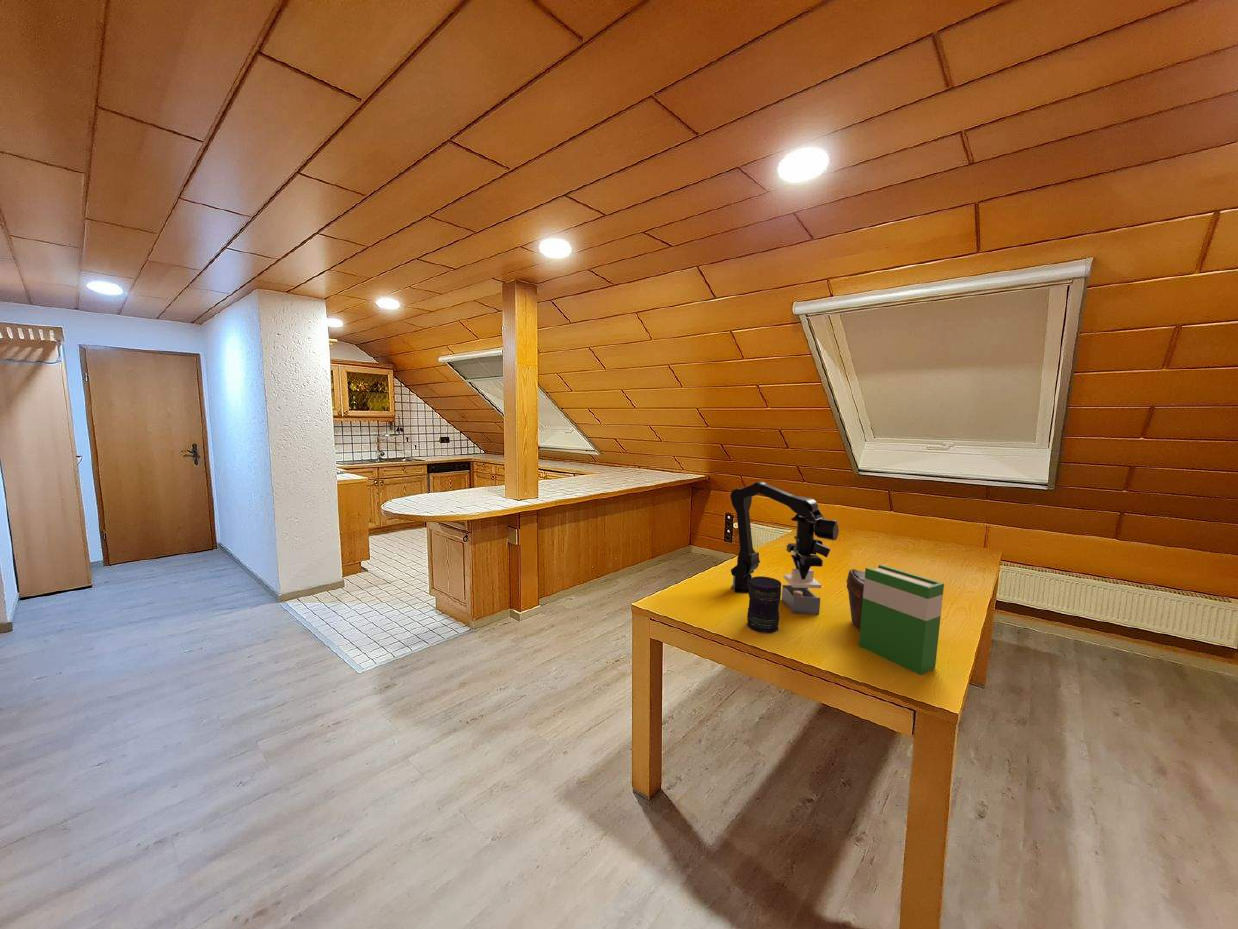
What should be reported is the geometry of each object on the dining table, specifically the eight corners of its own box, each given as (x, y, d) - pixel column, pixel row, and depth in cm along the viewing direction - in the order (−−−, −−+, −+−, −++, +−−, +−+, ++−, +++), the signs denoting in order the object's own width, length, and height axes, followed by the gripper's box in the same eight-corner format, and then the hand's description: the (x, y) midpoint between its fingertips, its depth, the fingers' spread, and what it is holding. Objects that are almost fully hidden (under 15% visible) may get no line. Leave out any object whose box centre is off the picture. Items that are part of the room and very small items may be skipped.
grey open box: (792, 613, 166) (794, 597, 165) (781, 599, 178) (782, 584, 177) (819, 614, 166) (820, 598, 165) (806, 600, 178) (807, 585, 177)
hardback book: (858, 646, 144) (865, 568, 141) (873, 641, 147) (880, 564, 145) (920, 675, 129) (929, 588, 126) (935, 668, 132) (944, 583, 130)
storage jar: (774, 636, 148) (777, 589, 147) (742, 628, 154) (745, 582, 152) (782, 625, 157) (785, 580, 155) (752, 617, 162) (754, 574, 160)
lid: (793, 587, 166) (793, 574, 165) (783, 577, 176) (784, 565, 175) (821, 588, 166) (822, 575, 165) (810, 578, 176) (811, 565, 175)
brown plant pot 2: (924, 638, 150) (929, 582, 148) (866, 642, 146) (870, 585, 145) (884, 615, 167) (887, 564, 165) (831, 618, 164) (834, 566, 162)
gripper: (840, 542, 160) (836, 588, 161) (817, 529, 178) (814, 570, 180) (806, 541, 160) (803, 587, 161) (787, 528, 178) (784, 569, 180)
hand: (802, 578), depth 171 cm, fingers closed on lid
